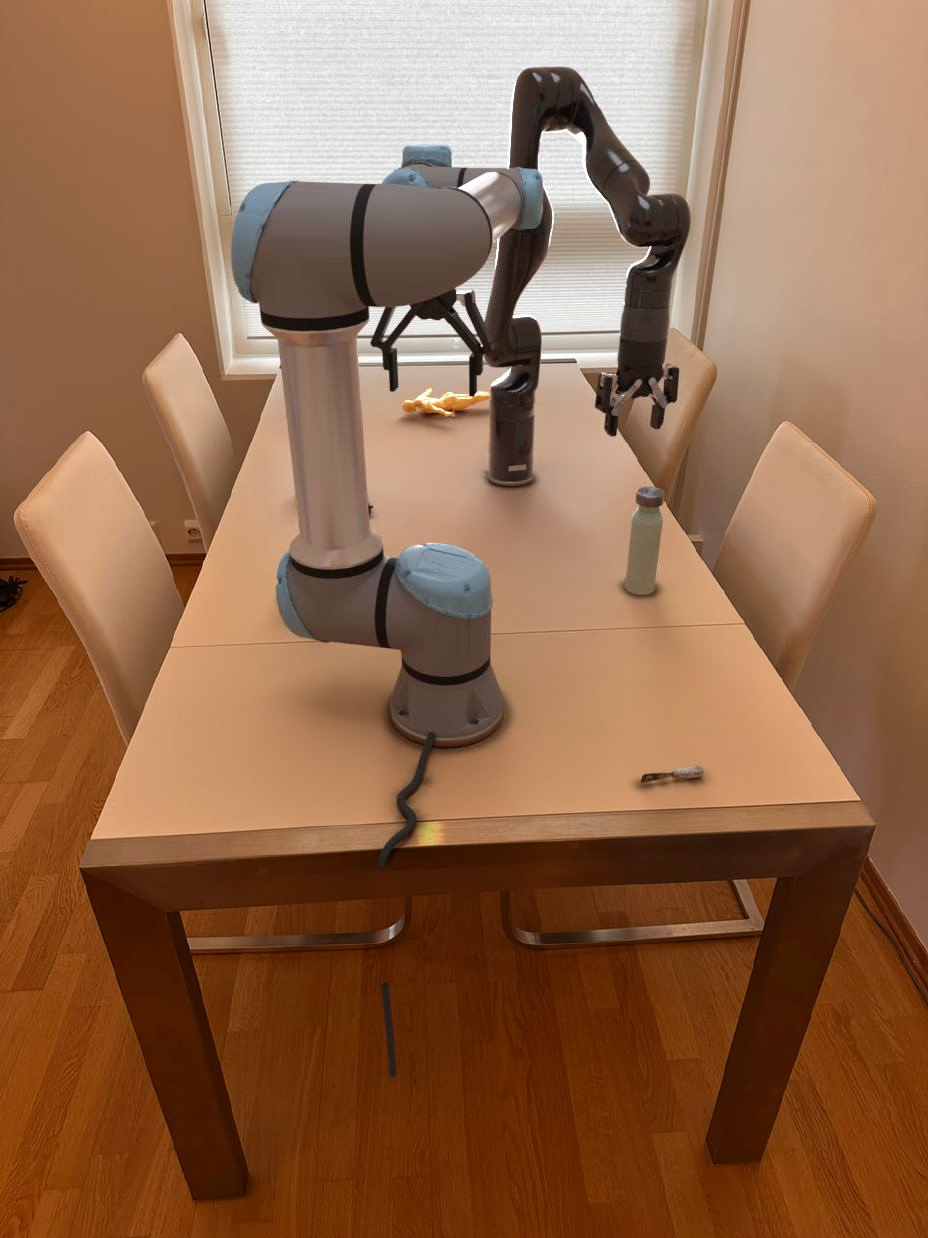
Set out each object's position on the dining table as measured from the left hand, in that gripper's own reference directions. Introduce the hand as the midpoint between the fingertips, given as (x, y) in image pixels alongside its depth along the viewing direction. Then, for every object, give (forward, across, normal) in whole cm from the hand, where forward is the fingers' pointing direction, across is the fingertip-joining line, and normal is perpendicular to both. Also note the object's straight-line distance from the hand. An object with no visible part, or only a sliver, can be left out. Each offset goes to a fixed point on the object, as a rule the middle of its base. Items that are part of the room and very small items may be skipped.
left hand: (433, 391), depth 149 cm
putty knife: (+28, -43, +57) cm, 77 cm away
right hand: (+6, -34, -4) cm, 34 cm away
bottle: (+28, -37, +10) cm, 48 cm away
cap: (+11, -37, +10) cm, 40 cm away
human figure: (+28, +14, -71) cm, 78 cm away
